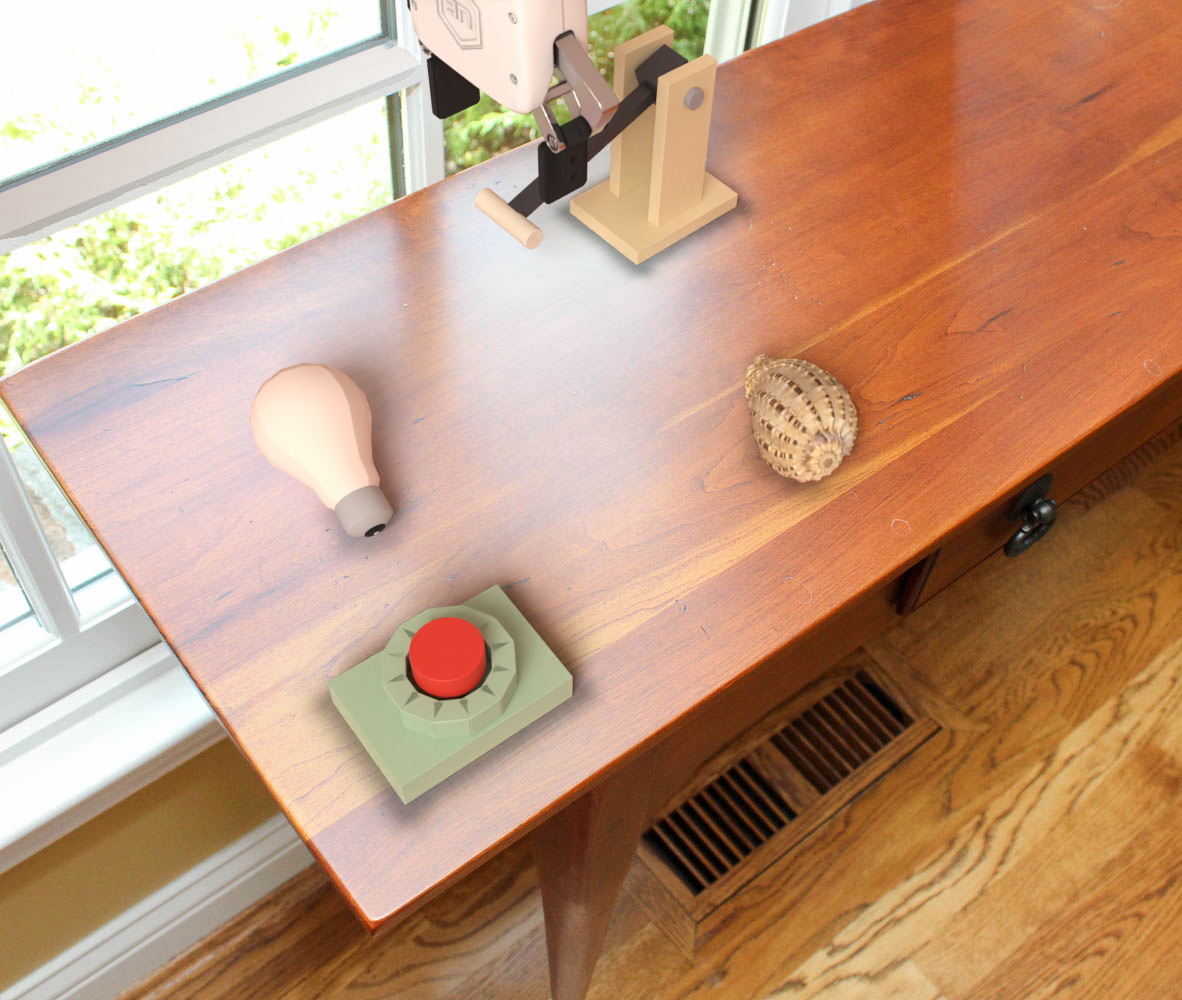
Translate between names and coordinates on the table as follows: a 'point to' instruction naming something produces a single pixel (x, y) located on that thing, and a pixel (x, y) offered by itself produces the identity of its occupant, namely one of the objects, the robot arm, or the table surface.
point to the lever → (629, 109)
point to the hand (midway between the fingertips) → (509, 149)
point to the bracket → (658, 158)
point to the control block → (458, 724)
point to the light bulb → (323, 441)
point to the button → (447, 657)
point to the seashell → (799, 417)
